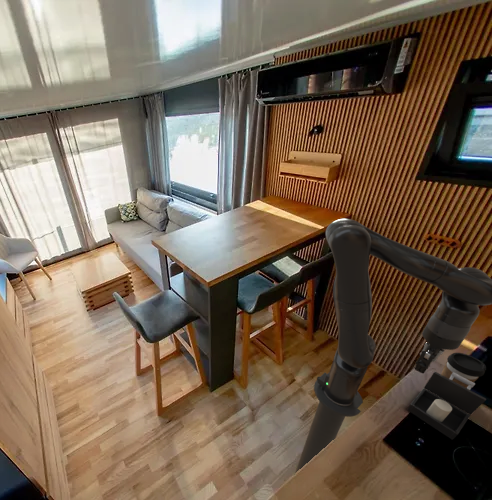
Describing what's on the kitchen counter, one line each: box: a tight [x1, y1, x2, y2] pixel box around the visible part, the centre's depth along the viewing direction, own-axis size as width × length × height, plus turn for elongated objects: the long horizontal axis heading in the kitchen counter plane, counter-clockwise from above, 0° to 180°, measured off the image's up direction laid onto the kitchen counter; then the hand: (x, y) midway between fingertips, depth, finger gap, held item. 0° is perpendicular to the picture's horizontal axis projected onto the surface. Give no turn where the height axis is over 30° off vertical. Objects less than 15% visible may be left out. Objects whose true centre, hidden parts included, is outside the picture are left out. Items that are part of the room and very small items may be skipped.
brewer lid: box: [423, 371, 487, 416], centre depth 86 cm, size 11×11×5 cm
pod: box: [426, 399, 452, 422], centre depth 86 cm, size 4×4×7 cm
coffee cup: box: [440, 352, 487, 388], centre depth 92 cm, size 8×8×15 cm
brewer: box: [406, 387, 471, 441], centre depth 88 cm, size 10×11×4 cm
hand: (424, 363), depth 82 cm, fingers open, 8 cm apart
